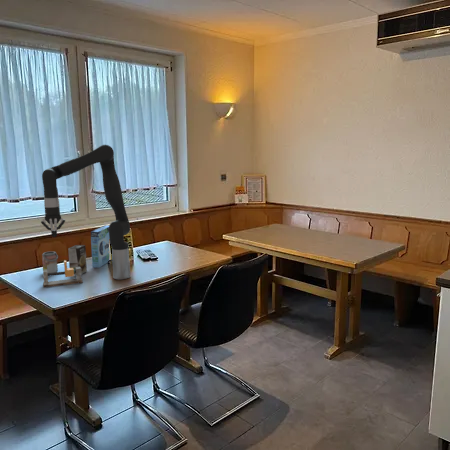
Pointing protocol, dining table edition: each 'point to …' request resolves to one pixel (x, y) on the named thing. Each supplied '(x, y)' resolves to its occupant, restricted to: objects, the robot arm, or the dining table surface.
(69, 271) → the sleeve
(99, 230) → the light blue box
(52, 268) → the beverage can
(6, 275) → the dining table surface
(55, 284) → the cord rig
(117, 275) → the robot arm
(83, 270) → the coffee box
